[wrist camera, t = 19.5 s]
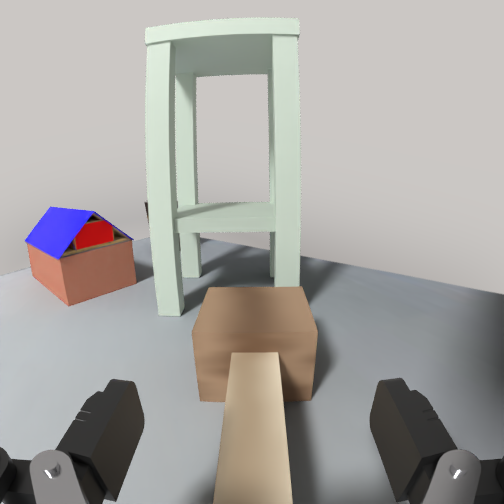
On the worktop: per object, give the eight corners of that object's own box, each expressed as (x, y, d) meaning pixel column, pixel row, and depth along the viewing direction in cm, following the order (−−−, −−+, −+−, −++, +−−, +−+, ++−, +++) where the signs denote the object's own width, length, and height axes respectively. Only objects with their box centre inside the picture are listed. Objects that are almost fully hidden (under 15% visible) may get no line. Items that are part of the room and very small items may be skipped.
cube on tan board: (299, 346, 29) (302, 286, 28) (338, 545, 10) (368, 487, 8) (212, 346, 29) (208, 287, 28) (169, 544, 10) (137, 486, 9)
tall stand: (287, 271, 50) (285, 62, 42) (300, 317, 35) (298, 18, 27) (184, 271, 51) (178, 66, 42) (156, 316, 35) (145, 28, 27)
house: (68, 309, 37) (52, 219, 34) (31, 277, 48) (21, 212, 45) (139, 284, 46) (131, 204, 43) (85, 261, 57) (78, 201, 54)
